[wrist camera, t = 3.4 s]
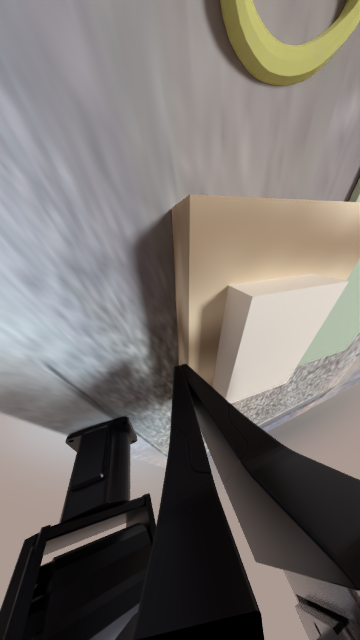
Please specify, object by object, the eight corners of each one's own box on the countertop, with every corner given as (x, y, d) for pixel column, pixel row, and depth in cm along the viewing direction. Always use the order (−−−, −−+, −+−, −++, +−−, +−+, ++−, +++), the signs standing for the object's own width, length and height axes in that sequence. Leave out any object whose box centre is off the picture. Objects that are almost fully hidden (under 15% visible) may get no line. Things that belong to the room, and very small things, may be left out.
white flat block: (269, 367, 15) (286, 383, 13) (212, 385, 13) (223, 406, 12) (312, 273, 10) (349, 281, 8) (228, 285, 8) (252, 296, 7)
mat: (341, 348, 27) (344, 350, 26) (267, 373, 22) (270, 375, 22) (476, 177, 14) (486, 175, 14) (368, 159, 10) (378, 156, 10)
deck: (268, 362, 21) (286, 378, 18) (180, 389, 17) (188, 414, 15) (335, 211, 11) (392, 204, 9) (171, 208, 8) (189, 194, 6)
